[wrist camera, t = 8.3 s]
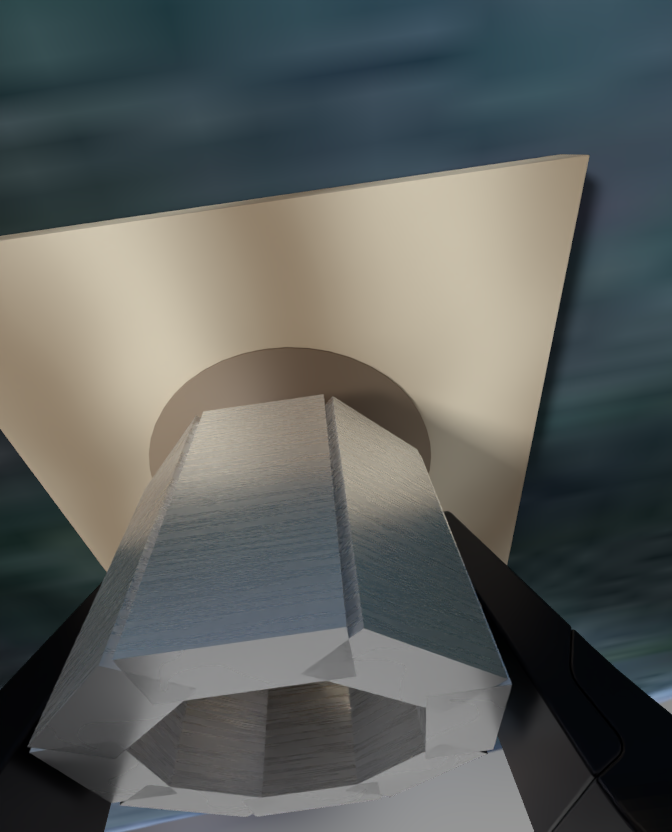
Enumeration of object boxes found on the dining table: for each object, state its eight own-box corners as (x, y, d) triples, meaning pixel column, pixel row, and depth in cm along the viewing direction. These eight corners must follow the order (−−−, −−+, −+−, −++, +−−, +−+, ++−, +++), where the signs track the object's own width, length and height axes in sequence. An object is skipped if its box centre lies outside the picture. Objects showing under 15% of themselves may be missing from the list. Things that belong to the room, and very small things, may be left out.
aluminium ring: (203, 601, 12) (155, 830, 8) (106, 425, 9) (-77, 687, 4) (420, 570, 12) (482, 785, 8) (420, 379, 8) (536, 600, 4)
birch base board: (157, 606, 16) (149, 632, 15) (-85, 248, 9) (-131, 260, 8) (493, 558, 16) (504, 582, 15) (561, 154, 8) (592, 154, 8)
